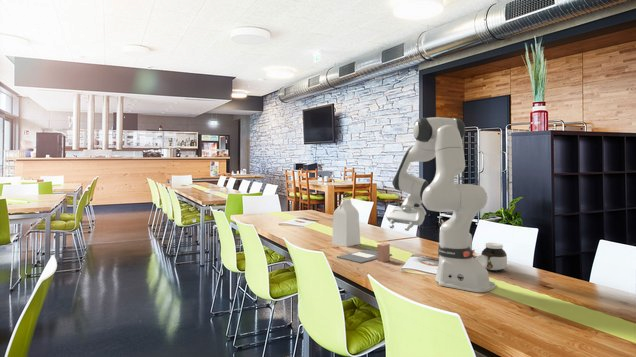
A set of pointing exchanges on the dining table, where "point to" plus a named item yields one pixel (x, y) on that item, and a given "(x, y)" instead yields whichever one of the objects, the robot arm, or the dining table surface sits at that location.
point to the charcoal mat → (360, 256)
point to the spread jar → (493, 257)
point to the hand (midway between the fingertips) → (398, 228)
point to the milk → (346, 225)
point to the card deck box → (383, 252)
